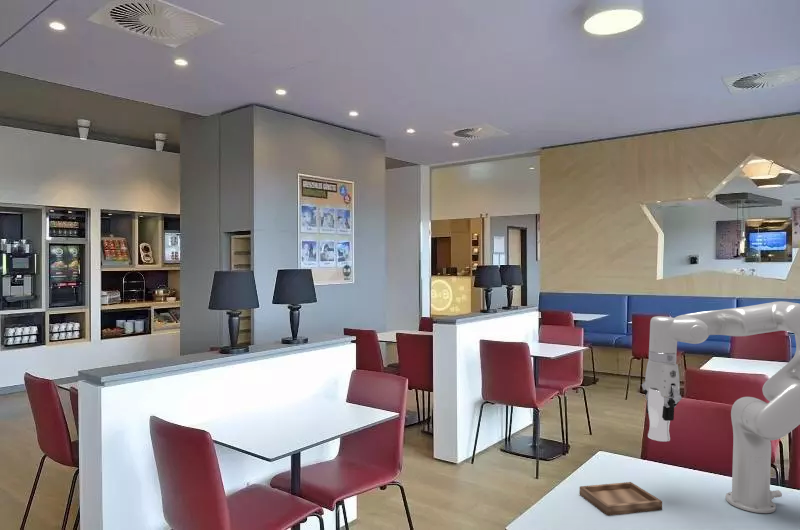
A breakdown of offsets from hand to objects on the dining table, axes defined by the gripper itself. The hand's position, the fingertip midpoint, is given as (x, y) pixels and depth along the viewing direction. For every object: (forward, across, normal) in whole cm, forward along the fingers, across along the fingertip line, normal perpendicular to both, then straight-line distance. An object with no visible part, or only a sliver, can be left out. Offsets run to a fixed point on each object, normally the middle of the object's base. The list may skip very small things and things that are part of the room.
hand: (659, 416), depth 167 cm
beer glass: (+7, 0, 0) cm, 7 cm away
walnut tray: (+25, 0, +13) cm, 28 cm away
